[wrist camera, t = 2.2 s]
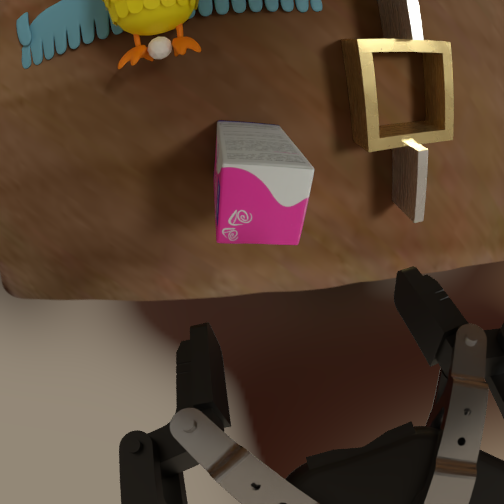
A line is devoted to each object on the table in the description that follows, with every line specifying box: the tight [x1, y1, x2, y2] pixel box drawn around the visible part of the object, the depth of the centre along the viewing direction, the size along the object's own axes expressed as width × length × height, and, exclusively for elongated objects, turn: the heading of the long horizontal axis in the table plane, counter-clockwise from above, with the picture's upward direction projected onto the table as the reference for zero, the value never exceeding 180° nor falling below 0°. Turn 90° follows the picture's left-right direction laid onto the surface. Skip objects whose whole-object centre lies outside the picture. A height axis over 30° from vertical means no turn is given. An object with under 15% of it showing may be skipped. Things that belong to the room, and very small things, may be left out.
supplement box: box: [213, 120, 314, 245], centre depth 24 cm, size 6×6×12 cm
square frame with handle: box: [341, 0, 454, 223], centre depth 24 cm, size 26×10×5 cm, turn 11°
